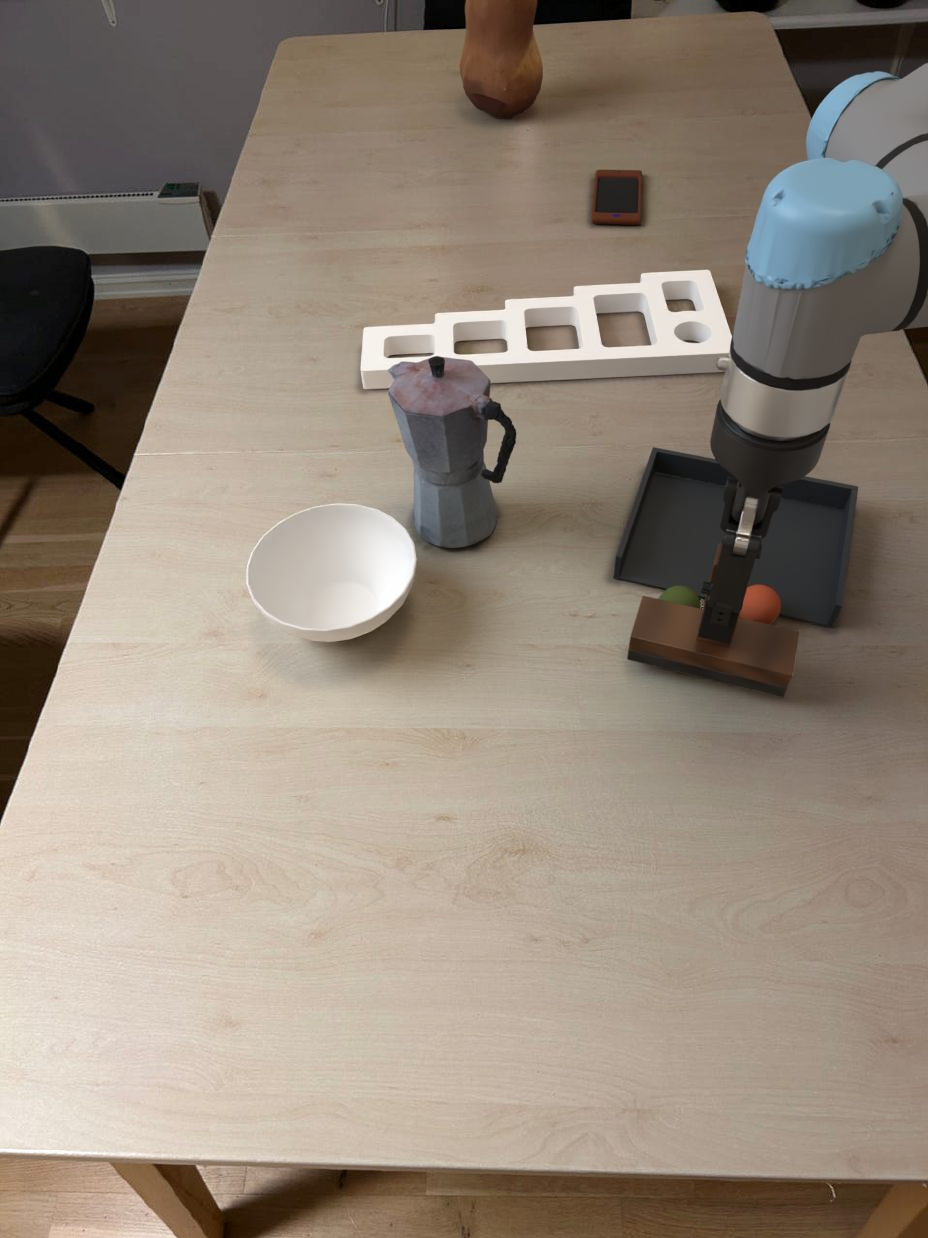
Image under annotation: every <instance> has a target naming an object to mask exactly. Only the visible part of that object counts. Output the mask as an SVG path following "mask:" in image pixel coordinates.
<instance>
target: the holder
mask: <svg viewBox="0 0 928 1238" xmlns="http://www.w3.org/2000/svg"><path fill="white" fill-rule="evenodd" d="M668 300H669V301H671V300H674V301H675V300H690V301H692V303H693V306H694V310H683V311H676V312H675V311H670V310H669V308H668V305H667V301H668ZM631 312H632V313H633V312H635V313H636V312H639V313H642V314H643V317H644V320H645V323H646V329H647V333H648V337H649V341H650V345H634V346H632V345H629V346H610V347H608V346H604V345H603V344H602V337H601V333H600V329H599V328H600V327H599V322H598V317H597V314H612V313H613V314H615V313H631ZM554 326H556V327H557V326H574V328H575V330H576V336H577V342H578V348H573V349H572V348H571V349H570V348H569V349H552V350H550V349H549V350H548V349H547V350H531V349H529V348H528V340H527V330H526V329H528V328H535V327H536V328H537V327H538V328H539V327H554ZM732 335H733V334H732V332H731V329H730V326H729V324H728V321H727V318H726V314H725V311H724V308H723V305H722V303H721V300H720V296H719V293H718V291H717V288H716V285H715V281H714V279H713V275H712V272H711V270H709V269H696V270H695V269H694V270H675V271H657V272H656V271H655V272H654V271H653V272H642V273H641V274H640V280H639V282H631V283H630V282H627V283H611V284H609V283H608V284H594V285H576V286H573V295H568V296H552V297H549V296H548V297H530V298H511V299H510V298H509V299H506V300H504V309H492V310H473V311H471V310H470V311H452V312H451V311H450V312H437V313H435V314H434V322H433V323H421V324H419V323H418V324H400V325H380V326H379V325H377V326H365V327H364V328H363V330H362V344H361V356H360V367H359V369H360V375H361V382H362V388H363V389H364V390H379V389H380V390H381V389H383V390H384V389H389V388H390V387H391V385H392V383H393V382H394V378H393V377H392V375H391V374H390V373H388V372H387V370H388V369H390V368H391V367H392V366H393V365H395V364H399V363H400V362H402V361H405V362H415V363H417V362H421V361H423V360H426V359H429V358H432V357H434V356H440V357H447V358H454V359H464V360H470V361H473V363H474V364H475V365H476V366H478V368H479V369H480V370H481V371H482V372H483V373H484V374H485V375H486V376H487V377H488V378H489V379H490V381H491V383H490V384H503V383H524V382H526V383H527V382H544V381H561V380H562V381H565V380H587V379H605V378H607V379H608V378H626V377H628V378H629V377H646V376H648V377H650V376H668V375H669V376H670V375H689V374H690V375H691V374H709V373H725V372H726V371H723V370H719V369H718V368H717V366H716V362H717V360H718V357H719V356H720V355H727V356H729V351H730V344H731V339H732ZM483 340H485V341H486V340H504V341H506V345H507V346H506V347H507V350H505V351H504V352H490V353H471V354H458V353H455V344H456V343H458V342H464V341H483ZM687 341H693V342H687ZM413 354H414V355H417V354H432V355H428V356H410V357H409V356H408V357H390V356H395V355H397V356H398V355H413Z"/></svg>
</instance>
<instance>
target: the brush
mask: <svg viewBox="0 0 928 1238" xmlns="http://www.w3.org/2000/svg"><path fill="white" fill-rule="evenodd" d="M722 545H723V544H719V545H718V548H717V552H716V556H715V560H714V564H713V569H712V573H711V577H710V581H709V582H711V581H712V582H713V581H714V577H715V573H716V569H717V565H718V561H719V557H720V553H721V549H722ZM752 569H753V568H752ZM751 573H752V572H751ZM750 577H751V575H750ZM749 580H750V578H749ZM748 584H749V581H748ZM747 587H748V585H747ZM746 591H747V588H746ZM746 591H745V594H746ZM744 597H745V595H744ZM707 598H708V594H706V598H705V599H704V603H703V606H702V608H701V609H700V608H695V607H691V606H686V605H682V604H677V603H673V602H669V601H664V600H660V599H659V598H655V597H650V596H647V595H643V596H641V600H640V604H639V607H638V609H637V614H636V616H635V620H634V624H633V626H632V630H631V634H630V639H629V643H628V644H629V645H628V650H627V657H626V659H627V661H632V662H636V663H640V664H644V665H649V666H652V667H656V668H660V669H665V670H668V671H673V672H677V673H681V674H685V675H689V676H693V677H696V678H697V677H698V678H702V679H706V680H710V681H714V682H718V683H723V684H727V685H731V686H735V687H738V688H743V689H747V690H751V691H755V692H759V693H764V694H767V695H772V696H776V697H779V698H784V697H785V696H786V693H787V691H788V687H789V685H790V683H791V680H792V678H793V676H794V675H793V674H794V671H795V669H794V668H795V662H796V657H797V650H798V645H799V637H800V630H797V629H793V628H789V627H784V626H779V625H774V624H766V623H762V622H757V621H753V620H748V619H744V618H740V616H739V615H740V612H739V614H738V617H737V620H736V624H735V627H734V631H733V634H732V638H731V641H730V644H728V643H723V642H719V641H715V640H710V639H706V638H702V637H698V635H699V631H700V627H701V622H702V618H703V614H704V610H705V606H706V602H707ZM743 601H744V598H743ZM743 601H742V603H743ZM740 611H741V610H740Z"/></svg>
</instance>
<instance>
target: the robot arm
mask: <svg viewBox="0 0 928 1238" xmlns="http://www.w3.org/2000/svg"><path fill="white" fill-rule="evenodd" d="M805 146H806V147H805V149H806V157H807V160H804V161H799V162H797V163H795V164H792V165H790V166H789V167H787V168H785V169H783V170H782V171H780V172H779V173H778V174H776V176H775V177H774V178H772V180H771V181H770V183H768V185H767V187H766V189H765V191H764V193H763V195H762V199H761V202H760V206H759V208H758V211H757V214H756V217H755V221H754V224H753V229H752V233H751V236H750V240H749V241H748V244H747V247H746V249H745V258H744V263H745V266H744V273H743V277H742V283H741V289H740V295H739V300H738V305H737V310H736V316H735V321H734V327H733V333H732V334H731V335H732V339H731V344H730V351H729V356H727V355H720V356H719V357H718V360H717V362H716V366H717V368H718V369H719V370H723V371H726V372H724V376H723V380H722V384H721V388H720V399H719V400H718V402H717V405H716V410H715V415H714V419H713V424H712V429H711V434H710V438H709V439H710V440H709V443H710V444H709V445H710V450H711V453H712V455H713V457H714V458H713V459H716V461H717V462H718V463H719V464H720V466H721V467H722V468H724V469H725V470H726V471H727V472H729V477H728V479H727V483H726V486H725V487H726V488H725V492H724V496H723V500H724V502H725V507H724V511H723V516H722V520H721V524H720V528H721V530H723V531H724V532H725V534H724V535H723V537H722V541H721V544H723V545H722V549H721V553H720V557H719V561H718V565H717V569H716V573H715V577H714V581H713V582H712V581H711V582H707V581H704V582H703V586H702V590H701V593H703V594H708V598H707V602H706V606H705V610H704V614H703V618H702V622H701V627H700V631H699V635H698V637H702V638H706V639H710V640H715V641H719V642H723V643H728V644H730V641H731V638H732V634H733V631H734V627H735V624H736V620H737V617H738V614H739V612H740V610H741V609H742V607H743V603H742V601H743V598H744V595H745V591H746V588H747V585H748V581H749V578H750V575H751V572H752V568H753V565H754V562H755V559H760V555H761V550H762V543H761V542H762V540H761V539H762V538H765V537H766V535H767V532H768V529H769V525H770V522H771V518H772V515H773V513H774V512H775V511H777V509H778V507H779V503H780V500H781V498H782V497H781V496H782V492H783V487H781V486H782V485H783V484H786V483H790V482H793V481H796V480H799V479H801V478H803V477H804V476H807V475H809V474H810V473H811V472H812V471H813V470H814V469H815V468H816V466H817V464H818V463H819V461H820V458H821V455H822V452H823V449H824V447H825V446H824V445H825V443H826V440H827V437H828V433H829V432H830V431H829V430H830V427H831V422H832V421H833V419H834V417H835V415H836V412H837V409H838V406H839V403H840V400H841V398H842V394H843V391H844V388H845V385H846V382H847V379H848V376H849V373H850V370H851V366H852V360H853V358H854V356H855V353H856V350H857V348H858V345H859V343H860V340H861V338H863V336H866V335H873V334H874V335H875V334H881V333H883V334H884V333H889V332H898V331H901V330H909V329H919V328H927V327H928V62H926V63H924V64H922V65H921V66H919V67H918V68H916V69H915V70H913V71H911V72H910V73H909V74H907V75H906V76H904V77H902V78H900V77H898V76H897V75H894V74H891V73H889V72H885V71H869V72H868V71H867V72H864V73H861V74H855V75H853V76H850V77H848V78H846V79H845V80H843V81H842V82H840V83H839V84H838V85H837V86H835V87H834V88H833V89H831V91H830V92H829V93H828V94H827V95H826V96H825V97H824V99H823V100H822V101H821V102H820V103H819V105H818V107H817V108H816V110H815V111H814V113H813V116H812V117H811V120H810V122H809V125H808V129H807V133H806V138H805ZM763 516H764V518H763ZM762 518H763V519H762Z"/></svg>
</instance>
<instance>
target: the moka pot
mask: <svg viewBox="0 0 928 1238" xmlns="http://www.w3.org/2000/svg"><path fill="white" fill-rule="evenodd" d="M387 372H388V373H390V374H391V375H392V377H393V378H394V382H393V383H392V385H391V387H390V388H388V393H387V394H388V395H387V396H388V398H389V401H390V404H391V407H392V410H393V413H394V416H395V418H396V419H395V420H396V422H397V425H398V428H399V432H400V436H401V438H402V441H403V445H404V448H405V451H406V453H407V454H408V456H409V457H410V458H411V462H412V465H413V521H414V525H415V528H416V532H417V533H418V536H419V537H420V538H421V539H423V540H424V541H425V542H428V543H429V544H431V545H434V546H436V547H439V548H445V549H458V548H459V549H461V548H465V547H468V546H472V545H475V544H477V543H479V542H481V541H484V540H485V539H487V538H488V537H489V536H491V535H492V533H493V531H494V529H495V527H496V524H497V523H498V517H499V513H498V509H497V505H496V502H495V498H494V494H493V490H492V487H491V483H493V484H500V483H503V480H504V476H505V473H506V472H507V466H508V465H509V460H510V459H511V455H512V453H513V451H514V448H515V445H516V443H517V428H516V427H515V426H514V424H513V421H512V419H511V418H510V416H508V415H506V414H505V412H504V410H503V409H502V404H501V403H500V402H497V401H493V399H492V398H491V384H492V383H491V381H490V379H489V378H488V377H487V376H486V375H485V374H484V373H483V372H482V371H481V370H480V369H479V368H478V366H476V365H475V364H474V363H473V361H470V360H464V359H454V358H447V357H440V356H434V357H432V358H429V359H426V360H423V361H421V362H417V363H415V362H405V361H402V362H400V363H399V364H395V365H393V366H392V367H391V368H390V369H388V370H387ZM489 421H496V422H498V423H499V424H500V426H501V427H502V428H503V429H504V435H503V437H502V440H501V445H500V447H499V448H500V449H499V452H498V454H497V455H498V456H497V459H496V465H495V466H494V468H493V471H491V470H490V469H488V468H487V466H486V465H487V464H486V463H485V453H484V451H485V450H484V449H485V447H486V444H487V442H488V430H489V429H488V428H489Z"/></svg>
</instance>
